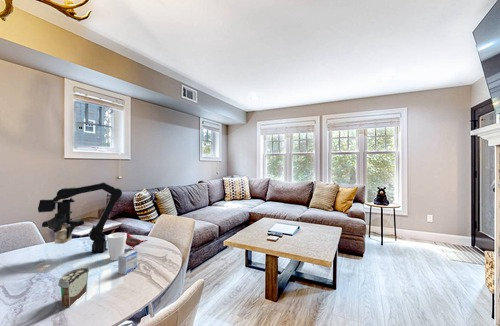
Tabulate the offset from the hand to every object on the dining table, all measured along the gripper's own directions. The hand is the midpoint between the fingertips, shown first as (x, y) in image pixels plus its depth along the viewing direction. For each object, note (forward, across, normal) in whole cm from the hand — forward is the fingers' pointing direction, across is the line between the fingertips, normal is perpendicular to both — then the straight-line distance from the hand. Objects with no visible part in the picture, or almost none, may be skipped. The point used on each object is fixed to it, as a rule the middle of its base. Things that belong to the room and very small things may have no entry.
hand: (63, 238), depth 123 cm
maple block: (+2, 0, 0) cm, 2 cm away
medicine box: (+11, +43, -17) cm, 47 cm away
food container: (+11, +32, -40) cm, 52 cm away
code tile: (+11, 0, -12) cm, 16 cm away
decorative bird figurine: (+11, +34, +11) cm, 37 cm away
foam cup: (+11, +30, -2) cm, 32 cm away
